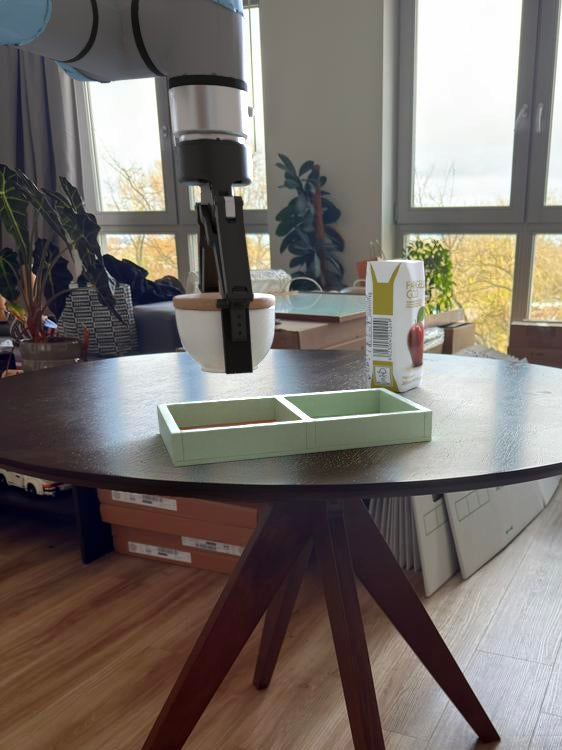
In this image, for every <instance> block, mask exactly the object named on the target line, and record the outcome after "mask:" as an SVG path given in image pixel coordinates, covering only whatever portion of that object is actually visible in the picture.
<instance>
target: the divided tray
mask: <svg viewBox="0 0 562 750" xmlns="http://www.w3.org/2000/svg"><path fill="white" fill-rule="evenodd" d="M156 412H157V413H156V414H157V421H158V423H157V424H158V432H159V434H160V437H161V439H162V441H163V442H162V443H163V444H164V446H165V448H166V450H167V451H166V452H168V456H169V457H170V459H171V462H172V464H173V466H174V468H176V467H177V468H178V467H187V466H188V467H189V466H197V465H207V464H217V463H226V462H236V461H245V460H254V459H255V460H256V459H263V458H273V457H274V458H275V457H286V456H293V455H305V454H314V453H323V452H333V451H334V452H335V451H343V450H344V451H345V450H353V449H362V448H363V449H364V448H372V447H383V446H392V445H402V444H411V443H412V444H413V443H422V442H430V441H433V440H432V435H433V410H431V409H429V408H426V407H425V406H423V405H420V404H418V403H416V402H414V401H412V400H410V399H408V398H406V397H404V396H402V395H400V394H398V393H396V392H392V391H389V390H387V389H385V388H374V389H368V388H363V389H349V390H334V391H322V392H321V391H320V392H306V393H294V394H277V395H266V396H265V395H264V396H250V397H249V396H248V397H238V398H236V397H235V398H223V399H208V400H207V399H206V400H195V401H183V402H182V401H181V402H168V403H157V404H156Z"/></svg>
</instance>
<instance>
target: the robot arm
mask: <svg viewBox="0 0 562 750" xmlns="http://www.w3.org/2000/svg"><path fill="white" fill-rule="evenodd" d="M245 19H246V12H245V11H244V4H243V0H0V46H3V47H12V48H15V49H19V50H21V51H24V52H28V53H32V54H35V55H38V56H41V57H45V58H48V59H50V60H52V61H54V62H55V64H56V65H57V67H59V68H61V69H62V70H63V72H64V74H65V75H67V76H68V78H70V79H72V80H75V81H77V82H84V83H85V82H87V83H88V82H89V83H90V82H91V83H92V82H94V83H96V82H97V83H100V84H110V83H111V82H119V81H120V82H121V81H130V80H143V79H154V78H167V81H168V101H169V112H170V123H171V133H172V135H173V136H174V138H177V139H178V142H176V143H175V146H174V147H173V149H174V150H173V151H174V160H175V170H176V171H175V172H176V173H175V174H176V179H177V182H178V183H179V184H181V185H184V186H188V187H189V186H190V187H199V188H200V201H195V203H194V206H193V208H194V211H195V219H196V221H195V222H196V240H197V242H196V243H197V266H198V267H197V270H198V284H197V287H198V291H199V293H218V292H219V284H220V289H221V295H222V299H217V301H216V308H221V321H222V334H223V347H224V361H225V373H224V374H226V375H239V374H253V373H254V370H253V366H252V350H251V334H250V318H249V304H250V302H253V299H254V294H253V293H254V292H253V291H254V290H253V285H252V276H251V268H250V260H249V253H248V244H247V237H246V229H245V219H244V200H243V197H242V195H234V189H233V188H238V187H239V188H240V187H241V188H242V187H248V186H251V184H253V181H254V176H253V174H254V173H253V158H252V148H251V147H250V146H249V145H248V144H246V143H245V141H247V139H249V138H250V137H251V135H250V134H251V133H250V119H249V118H253V117H254V116H255V108H254V107H252V106H248V101H249V98H248V85H247V84H248V83H247V64H246V63H247V62H246V43H245V42H246V39H245ZM218 280H219V282H218Z"/></svg>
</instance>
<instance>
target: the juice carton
mask: <svg viewBox="0 0 562 750" xmlns="http://www.w3.org/2000/svg"><path fill="white" fill-rule="evenodd" d="M365 272H366V273H365V370H366V371H365V372H366V373H365V374H366V382H367V389H374V388H385V389H387V390H389V391H391V392H393V393H405V392H408V391H410V390H411V389H414V388H417V387H419V386H421V384H422V379H423V372H424V350H425V347H424V346H425V309H426V307H425V303H426V302H425V300H426V274H425V265H424V260H415V259H386V260H367V261H366V271H365Z"/></svg>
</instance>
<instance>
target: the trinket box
mask: <svg viewBox="0 0 562 750" xmlns="http://www.w3.org/2000/svg"><path fill="white" fill-rule="evenodd" d="M218 282H219V280H218ZM253 294H254V299H253V302H250V304H249V318H250V334H251V350H252V366H253V371H256V370H258V369H259V367H258V365H260V364H261V362H263V360H264V359H265V358H266V356H268V354H269V352H270V350H271V349H272V348H271V347H272V345H273V342H274V337H275V329H276V328H275V327H276V310H275V306H276V297H275V295H273V294H270V293H261V292H253ZM217 299H222V295H221V289H220V284H219V292H218V293H201V292H197V293H195V292H194V293H187V294H178V295H175V296H173V297H172V306H173V308H174V314H175V324H176V329H177V332H178V337H179V340H180V342H181V345H182V347H183V349H184V351H185V352H186V354H187V356H189V358H191V360H192V361H193V362H194V363H195V364H197V365H198V366H199V367H200V369H201V371H202V372H204V373H209V374H210V373H211V374H226V373H225V361H224V347H223V334H222V321H221V308H216V301H217Z"/></svg>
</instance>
